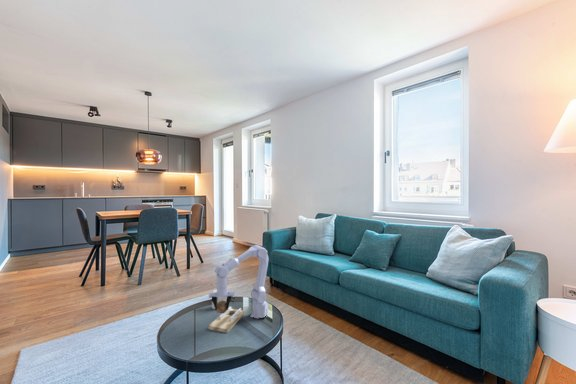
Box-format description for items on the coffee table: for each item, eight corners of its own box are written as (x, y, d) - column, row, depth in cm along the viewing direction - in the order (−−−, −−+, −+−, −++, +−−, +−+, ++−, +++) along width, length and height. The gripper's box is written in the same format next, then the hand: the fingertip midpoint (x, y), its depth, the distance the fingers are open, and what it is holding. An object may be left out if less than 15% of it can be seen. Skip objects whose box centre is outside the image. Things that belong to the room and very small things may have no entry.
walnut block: (227, 309, 156) (227, 301, 156) (223, 313, 152) (223, 304, 151) (220, 308, 157) (220, 300, 157) (216, 312, 153) (216, 303, 153)
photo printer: (227, 304, 182) (227, 286, 181) (228, 307, 177) (227, 289, 177) (211, 306, 178) (211, 288, 178) (212, 309, 174) (211, 291, 173)
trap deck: (244, 313, 169) (244, 310, 169) (227, 332, 148) (227, 329, 148) (228, 311, 173) (228, 308, 172) (208, 329, 152) (208, 325, 151)
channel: (241, 311, 169) (241, 308, 168) (231, 321, 156) (231, 318, 156) (230, 309, 171) (230, 306, 171) (219, 319, 159) (219, 316, 158)
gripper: (235, 283, 158) (235, 305, 158) (210, 283, 157) (210, 306, 157) (233, 288, 151) (233, 311, 151) (207, 288, 150) (208, 312, 150)
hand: (222, 309), depth 154 cm, fingers closed on walnut block, 6 cm apart
